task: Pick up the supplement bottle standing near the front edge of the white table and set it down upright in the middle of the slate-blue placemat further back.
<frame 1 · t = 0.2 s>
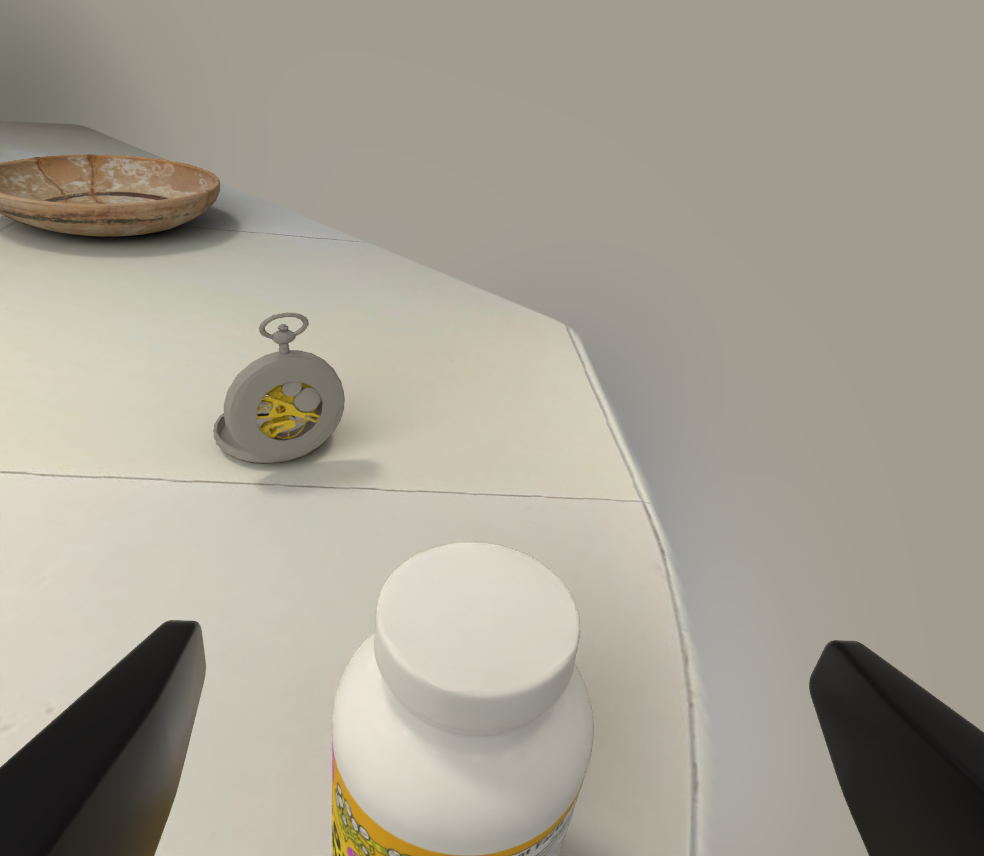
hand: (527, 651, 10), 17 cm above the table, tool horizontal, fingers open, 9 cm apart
ceramic bowl: (111, 223, 76), on the table
pocket watch: (274, 451, 42), on the table
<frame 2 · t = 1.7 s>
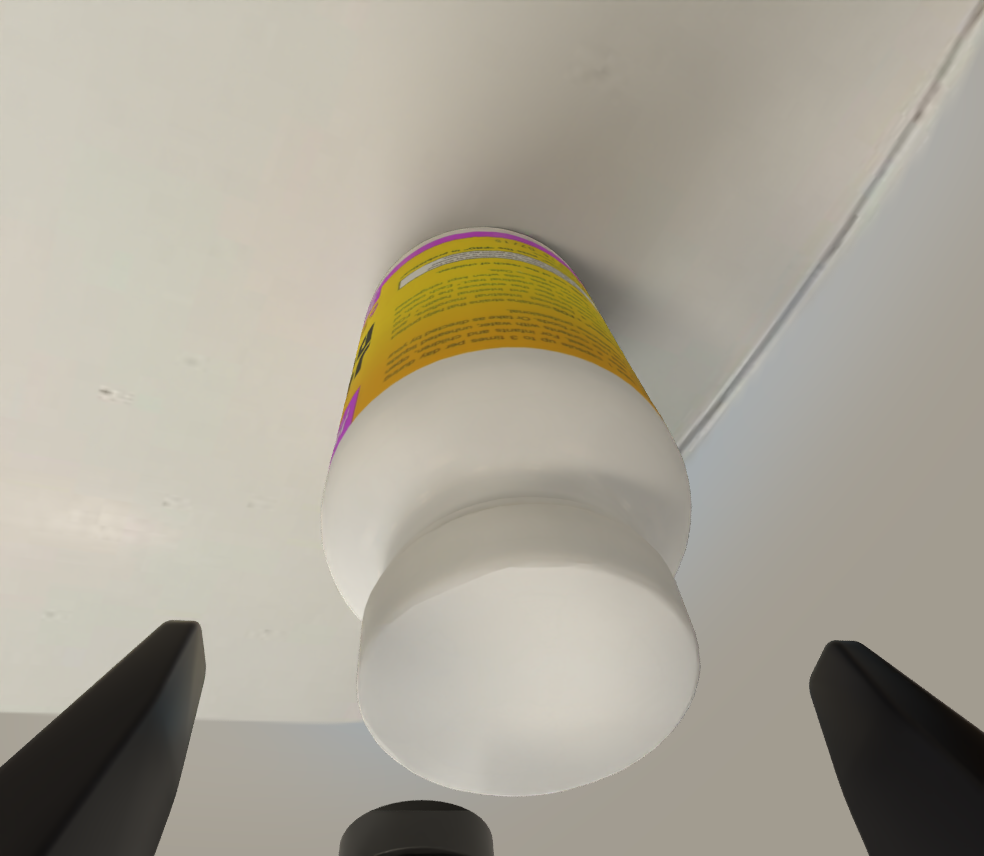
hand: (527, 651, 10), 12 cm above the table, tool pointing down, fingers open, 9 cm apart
supplement bottle: (478, 333, 21), on the table
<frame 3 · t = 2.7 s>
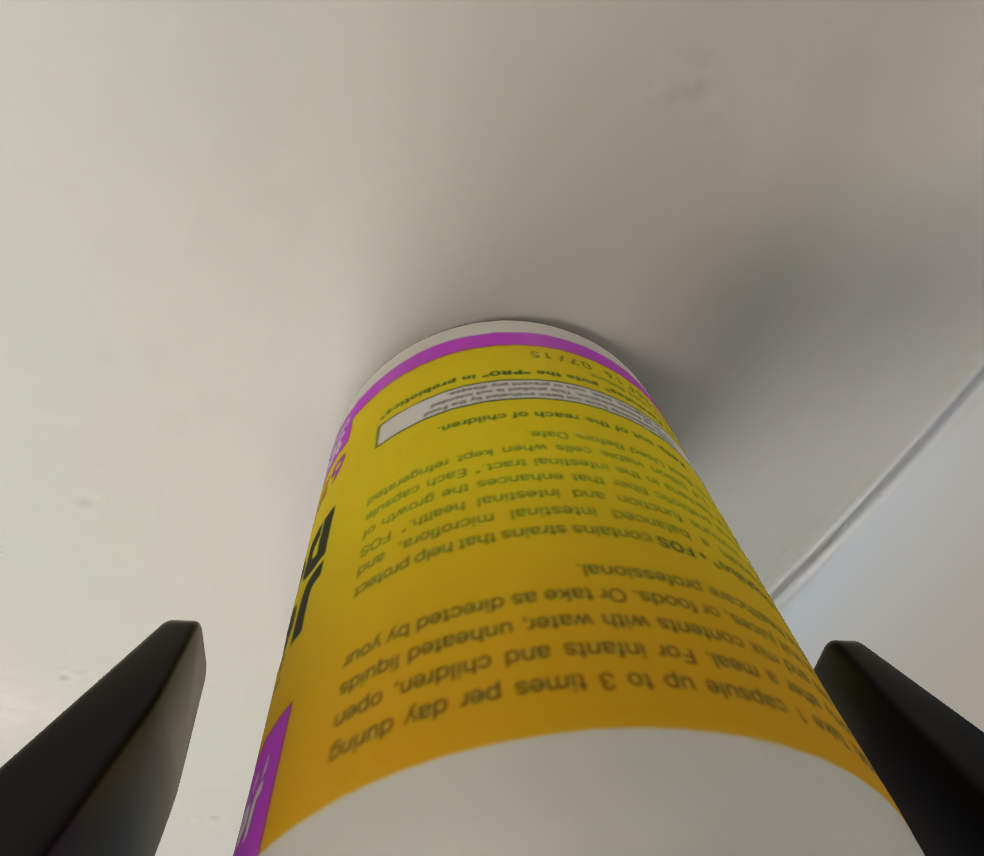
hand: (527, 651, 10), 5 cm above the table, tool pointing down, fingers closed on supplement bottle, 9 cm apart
supplement bottle: (497, 457, 14), on the table, touching gripper
when the fingers open (6 cm above the table, at t = 8.9 s): supplement bottle stays where it is, resting on placemat.
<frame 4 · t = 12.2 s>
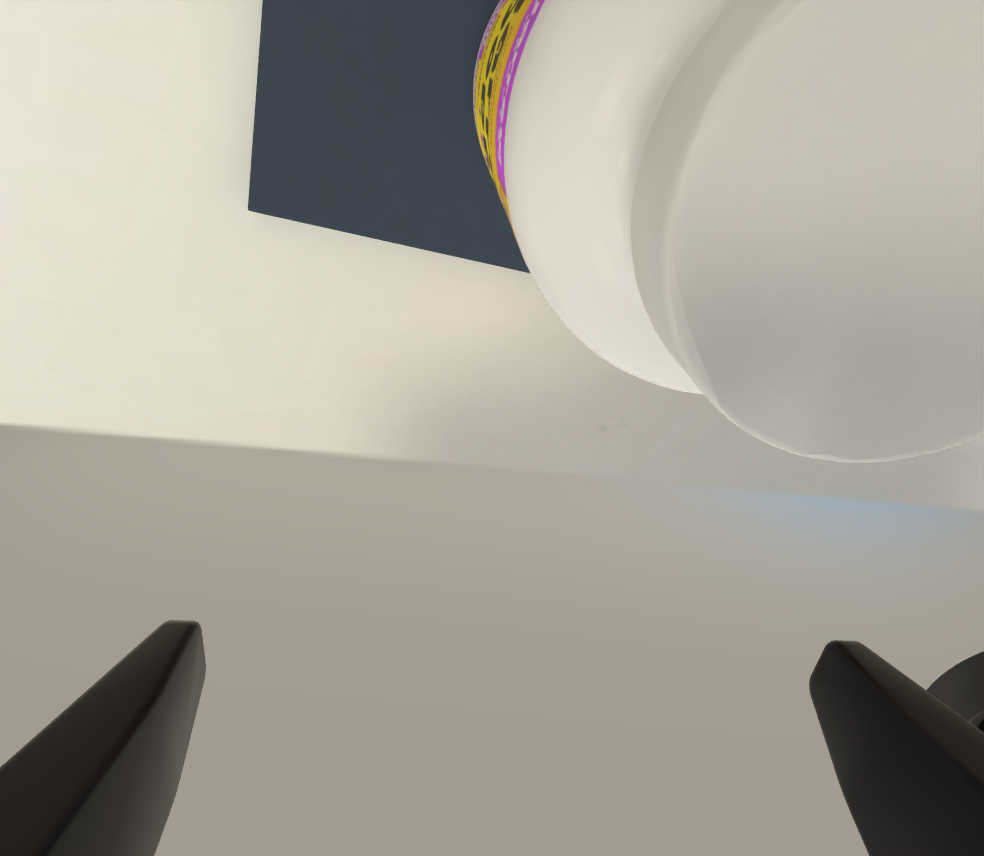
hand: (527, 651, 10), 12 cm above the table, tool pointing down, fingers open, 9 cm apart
supplement bottle: (605, 95, 17), resting on placemat
placemat: (600, 77, 17), on the table
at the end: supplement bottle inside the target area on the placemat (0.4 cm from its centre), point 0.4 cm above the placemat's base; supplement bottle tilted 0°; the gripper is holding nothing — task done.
